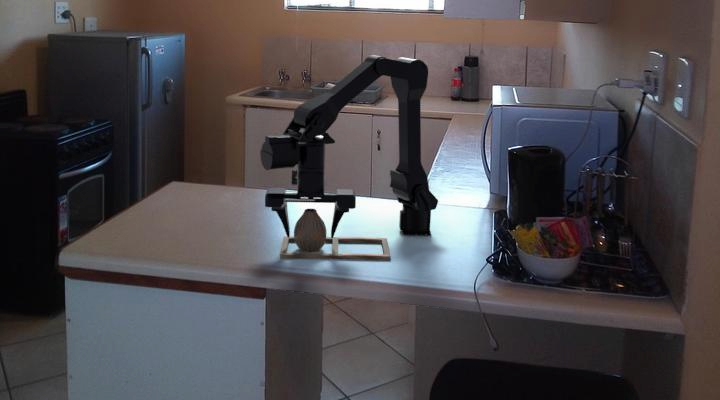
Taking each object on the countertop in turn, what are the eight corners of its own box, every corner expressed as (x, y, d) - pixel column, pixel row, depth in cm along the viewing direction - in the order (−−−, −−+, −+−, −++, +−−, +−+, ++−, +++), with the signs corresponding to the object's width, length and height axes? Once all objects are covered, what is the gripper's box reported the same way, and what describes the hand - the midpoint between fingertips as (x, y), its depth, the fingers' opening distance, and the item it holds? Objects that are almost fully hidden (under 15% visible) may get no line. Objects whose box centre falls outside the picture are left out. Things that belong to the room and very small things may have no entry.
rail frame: (386, 241, 170) (386, 237, 169) (390, 260, 158) (390, 255, 158) (283, 239, 169) (283, 235, 168) (279, 258, 157) (279, 254, 157)
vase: (309, 242, 168) (309, 203, 166) (332, 249, 164) (333, 210, 161) (287, 249, 163) (287, 209, 160) (310, 257, 158) (311, 216, 156)
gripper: (355, 158, 166) (353, 226, 171) (269, 156, 166) (269, 225, 170) (356, 169, 156) (354, 242, 160) (264, 168, 155) (264, 241, 159)
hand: (310, 237), depth 162 cm, fingers open, 9 cm apart
